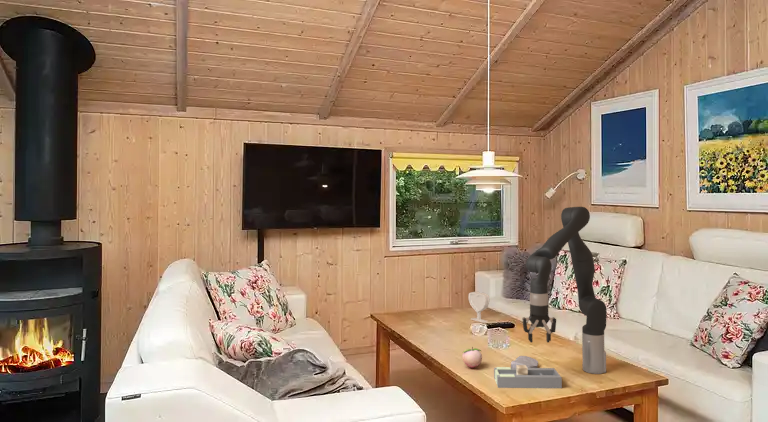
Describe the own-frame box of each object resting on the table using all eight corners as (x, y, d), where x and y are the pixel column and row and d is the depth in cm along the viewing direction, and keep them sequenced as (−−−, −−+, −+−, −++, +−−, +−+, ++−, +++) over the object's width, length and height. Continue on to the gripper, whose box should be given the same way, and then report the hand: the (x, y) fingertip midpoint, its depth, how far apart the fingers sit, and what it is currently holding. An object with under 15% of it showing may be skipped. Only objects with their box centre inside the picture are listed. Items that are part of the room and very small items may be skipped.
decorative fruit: (469, 372, 229) (469, 350, 229) (459, 367, 237) (459, 346, 236) (486, 369, 233) (486, 348, 233) (476, 364, 240) (476, 343, 240)
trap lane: (554, 378, 220) (554, 367, 220) (561, 388, 208) (561, 376, 208) (494, 377, 222) (494, 367, 222) (498, 387, 210) (497, 376, 210)
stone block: (539, 370, 236) (519, 361, 242) (541, 360, 235) (521, 352, 242) (529, 378, 227) (508, 369, 233) (530, 368, 226) (510, 360, 232)
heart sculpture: (467, 318, 330) (467, 291, 330) (473, 317, 333) (472, 290, 333) (485, 323, 318) (484, 294, 317) (490, 321, 320) (490, 293, 320)
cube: (525, 374, 217) (525, 365, 217) (527, 377, 213) (527, 368, 213) (516, 374, 217) (516, 365, 217) (518, 377, 213) (518, 368, 213)
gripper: (554, 301, 217) (554, 339, 217) (520, 301, 218) (520, 339, 219) (558, 304, 210) (559, 344, 210) (523, 305, 211) (524, 344, 211)
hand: (539, 341), depth 214 cm, fingers open, 6 cm apart
